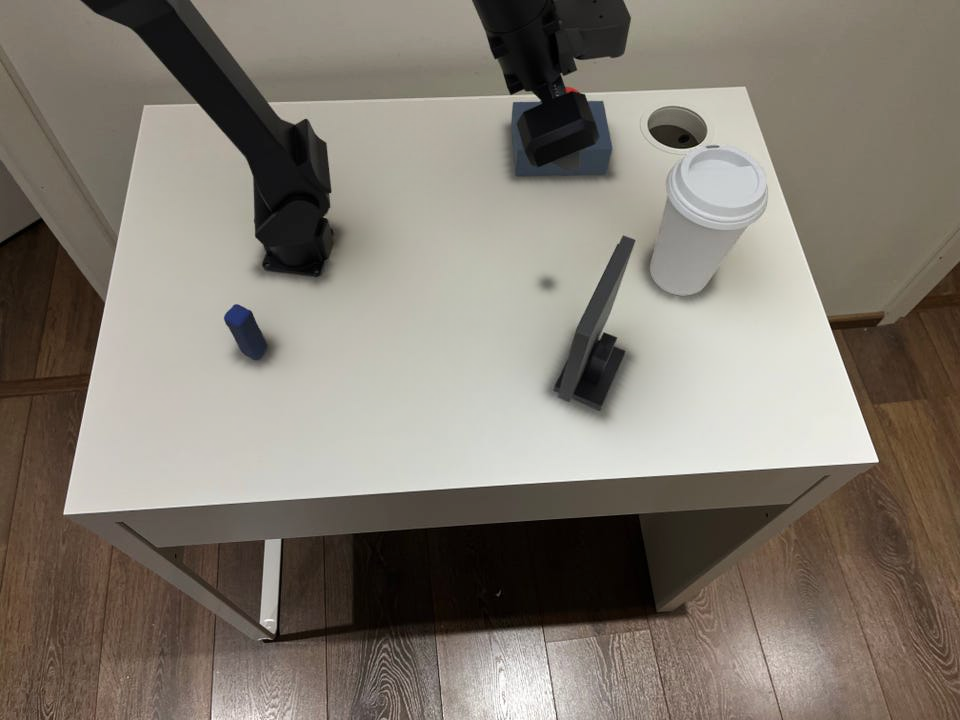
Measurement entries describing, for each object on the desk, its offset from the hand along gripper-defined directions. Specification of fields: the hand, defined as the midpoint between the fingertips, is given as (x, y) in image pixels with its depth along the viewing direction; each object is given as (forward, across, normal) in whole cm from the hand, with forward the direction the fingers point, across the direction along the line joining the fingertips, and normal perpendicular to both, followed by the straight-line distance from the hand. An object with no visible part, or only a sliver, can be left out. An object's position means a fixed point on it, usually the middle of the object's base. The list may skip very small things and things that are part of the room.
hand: (562, 135), depth 69 cm
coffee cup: (+17, -10, -7) cm, 20 cm away
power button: (+8, +10, -1) cm, 13 cm away
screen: (+9, -20, +5) cm, 22 cm away
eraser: (-1, -12, +36) cm, 38 cm away
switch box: (+13, +10, +2) cm, 17 cm away
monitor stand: (+11, -20, +6) cm, 23 cm away
